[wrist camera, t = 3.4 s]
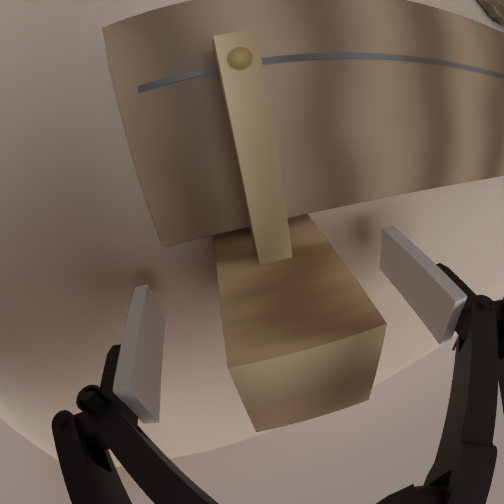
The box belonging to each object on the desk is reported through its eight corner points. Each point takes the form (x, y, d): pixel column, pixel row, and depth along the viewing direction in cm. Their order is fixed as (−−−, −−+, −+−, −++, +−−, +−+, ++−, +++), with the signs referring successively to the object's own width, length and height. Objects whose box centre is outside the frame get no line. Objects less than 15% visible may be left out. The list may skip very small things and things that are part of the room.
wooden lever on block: (231, 290, 19) (256, 432, 11) (174, 63, 12) (121, 13, 3) (305, 272, 19) (368, 399, 11) (273, 45, 12) (380, -11, 4)
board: (167, 225, 16) (162, 248, 14) (117, 36, 10) (101, 27, 8) (517, 161, 17) (537, 170, 15) (515, 47, 12) (537, 50, 9)
